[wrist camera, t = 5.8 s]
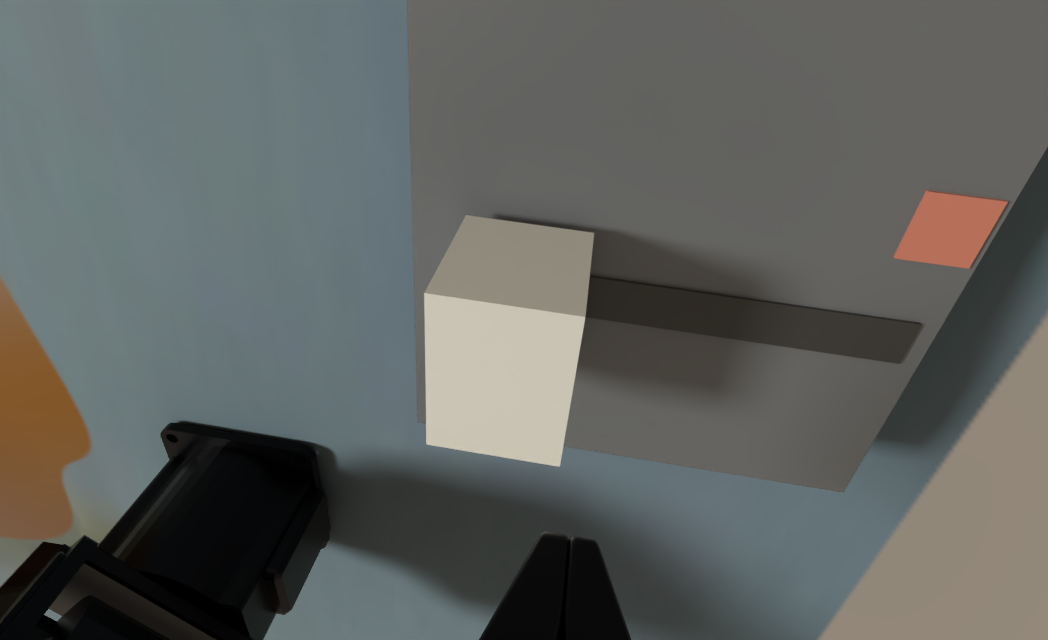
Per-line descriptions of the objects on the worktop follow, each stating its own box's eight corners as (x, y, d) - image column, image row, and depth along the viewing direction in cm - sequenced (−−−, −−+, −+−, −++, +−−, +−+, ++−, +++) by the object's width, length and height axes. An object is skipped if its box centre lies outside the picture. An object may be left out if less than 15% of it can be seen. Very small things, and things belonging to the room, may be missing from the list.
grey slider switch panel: (442, 363, 21) (416, 424, 19) (450, -1124, 7) (359, -1658, 5) (817, 422, 20) (844, 494, 18) (1605, -1149, 7) (2223, -1823, 4)
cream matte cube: (461, 350, 16) (426, 444, 13) (466, 215, 14) (423, 292, 11) (571, 367, 16) (560, 466, 13) (594, 232, 14) (585, 316, 11)
